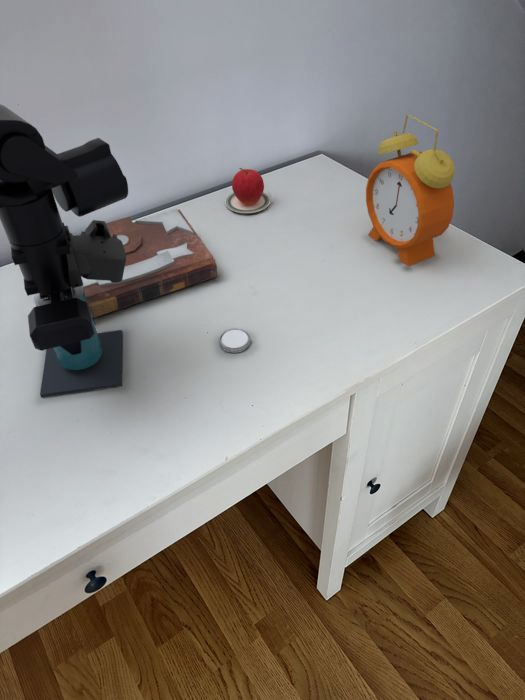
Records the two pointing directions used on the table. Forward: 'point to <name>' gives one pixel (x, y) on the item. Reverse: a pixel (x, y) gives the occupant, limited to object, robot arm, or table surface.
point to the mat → (87, 379)
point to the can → (89, 347)
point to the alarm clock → (410, 197)
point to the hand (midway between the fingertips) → (74, 337)
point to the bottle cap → (234, 340)
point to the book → (152, 262)
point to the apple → (247, 193)
